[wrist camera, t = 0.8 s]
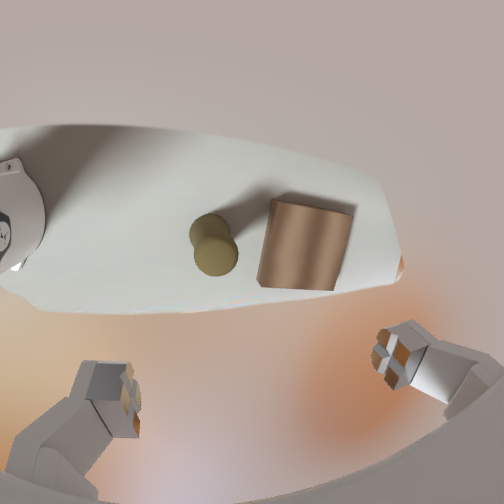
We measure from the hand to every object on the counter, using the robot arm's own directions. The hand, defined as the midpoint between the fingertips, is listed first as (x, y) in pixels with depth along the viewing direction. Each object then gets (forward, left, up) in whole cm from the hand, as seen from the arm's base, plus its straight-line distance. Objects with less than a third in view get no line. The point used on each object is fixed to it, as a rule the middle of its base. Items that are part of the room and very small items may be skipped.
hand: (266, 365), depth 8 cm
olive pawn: (+2, -4, -34) cm, 34 cm away
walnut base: (+17, -4, -33) cm, 38 cm away
